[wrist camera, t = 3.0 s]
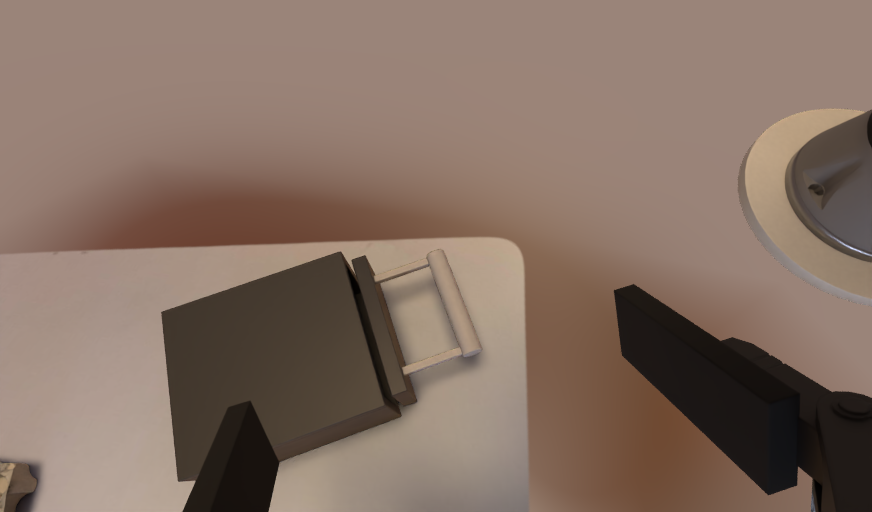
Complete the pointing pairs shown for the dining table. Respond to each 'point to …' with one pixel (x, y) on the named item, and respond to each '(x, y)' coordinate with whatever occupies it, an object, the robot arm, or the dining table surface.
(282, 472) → the dining table surface
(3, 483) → the egg carton
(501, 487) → the dining table surface
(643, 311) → the robot arm
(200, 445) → the grey drawer box
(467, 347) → the open sliding drawer
